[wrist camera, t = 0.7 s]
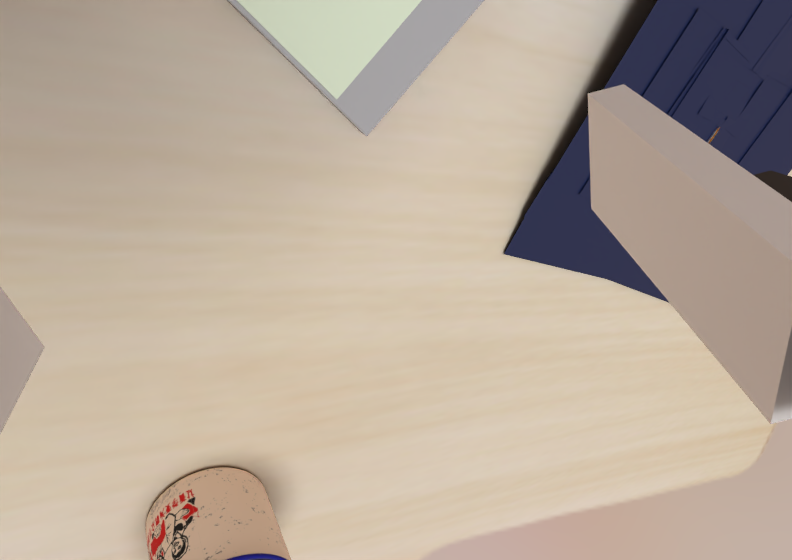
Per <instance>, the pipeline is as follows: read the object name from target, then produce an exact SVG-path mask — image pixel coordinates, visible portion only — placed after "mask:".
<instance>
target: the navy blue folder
mask: <svg viewBox="0 0 792 560" xmlns="http://www.w3.org/2000/svg"><path fill="white" fill-rule="evenodd" d="M623 84H624V85H626V86H627V87H629V88H630V89H631V90H633V91H634V92H636V93H637V94H639V95H640V96H641V97H643V98H644V99H646V100H647V101H649V102H650V103H651V104H653V105H654V106H656V107H657V108H659V109H660V110H661V111H663V112H664V113H666V114H667V115H668V116H670V117H671V118H673V119H674V120H676V121H677V122H678V123H680V124H681V125H683V126H684V127H686V128H687V129H688V130H690V131H691V132H693V133H694V134H696V135H697V136H698V137H700V138H701V139H703V140H704V141H705V142H707V143H708V144H710V145H711V146H713V147H714V148H715V149H717V150H718V151H720V152H721V153H723V154H724V155H725V156H727V157H728V158H730V159H731V160H732V161H734V162H735V163H737V164H738V165H740V166H741V167H742V168H744V169H745V170H747V171H748V172H750V173H751V174H752V175H755V174H759V173H762V172H766V171H770V170H771V171H775V172H778V173H781V174H784V175H788V173H789V172H790V171H791V169H792V0H658V1H657V2H656V4H655V6H654V7H653V9H652V10H651V12H650V14H649V15H648V17H647V19H646V20H645V22H644V24H643V25H642V27H641V29H640V30H639V32H638V33H637V35H636V37H635V38H634V40H633V42H632V43H631V45H630V47H629V48H628V50H627V51H626V53H625V55H624V56H623V58H622V60H621V61H620V63H619V65H618V66H617V68H616V69H615V71H614V73H613V74H612V76H611V78H610V79H609V81H608V83H607V84H606V86H605V87H604V89H607V88H611V87H615V86H619V85H623ZM524 217H525V218H524V219H523V221H522V223H521V225H520V227H519V228H518V230H517V232H516V234H515V235H514V237H513V239H512V241H511V242H510V244H509V246H508V248H507V249H506V251H505V253H504V254H506V255H510V256H514V257H518V258H522V259H526V260H531V261H535V262H539V263H543V264H547V265H551V266H555V267H559V268H564V269H568V270H572V271H576V272H580V273H584V274H588V275H593V276H597V277H601V278H605V279H608V280H611V281H614V282H616V283H619V284H622V285H624V286H627V287H629V288H632V289H635V290H637V291H640V292H643V293H645V294H648V295H651V296H653V297H656V298H659V299H661V300H664V301H667V302H669V301H668V300H667V299H666V298H665V296H664V295H663V294H662V293H661V292H660V290H659V289H658V288H657V287H656V286H655V284H654V283H653V282H652V281H651V280H650V278H649V277H648V276H647V275H646V274H645V272H644V271H643V270H642V269H641V268H640V266H639V265H638V264H637V263H636V262H635V260H634V259H633V258H632V257H631V256H630V254H629V253H628V252H627V251H626V250H625V248H624V247H623V246H622V245H621V244H620V242H619V241H618V240H617V239H616V238H615V236H614V235H613V234H612V233H611V232H610V230H609V229H608V228H607V227H606V226H605V224H604V223H603V222H602V221H601V220H600V218H599V217H598V216H597V215H596V214H595V212H594V211H593V210H592V209H591V186H590V153H589V119H588V115H587V117H586V119H585V120H584V122H583V123H582V125H581V127H580V128H579V130H578V132H577V133H576V135H575V137H574V138H573V140H572V141H571V143H570V145H569V146H568V148H567V150H566V151H565V153H564V155H563V156H562V158H561V160H560V161H559V163H558V164H557V166H556V168H555V169H554V171H553V172H551V174H550V176H549V177H548V179H547V180H546V182H545V184H544V185H543V187H542V188H541V190H540V192H539V193H538V195H537V196H536V198H535V200H534V201H533V203H532V204H531V206H530V208H529V209H528V211H527V213H526V214H525V216H524ZM669 303H670V302H669Z"/></svg>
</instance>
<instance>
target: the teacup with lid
mask: <svg viewBox="0 0 792 560" xmlns="http://www.w3.org/2000/svg"><path fill="white" fill-rule="evenodd" d="M146 539H147V546H148V553H149V560H291V558H290V555H289V553H288V550H287V547H286V545H285V542H284V539H283V536H282V534H281V531H280V528H279V526H278V523H277V520H276V518H275V515H274V512H273V509H272V507H271V504H270V501H269V499H268V496H267V493H266V491H265V488H264V486H263V485H262V483H261V482H260V481H259V480H258V479H257V478H256V477H255V476H253V475H252V474H250V473H248V472H246V471H244V470H240V469H236V468H227V467H221V468H212V469H207V470H203V471H199V472H196V473H194V474H191V475H189V476H187V477H185V478H183V479H181V480H179V481H178V482H176V483H175V484H173V485H172V486H170V487H169V488H168V489H167V490H166V491H165V492H164V493H163V494H162V495H161V496H160V497H159V498H158V499H157V500H156V502H155V503H154V504H153V506H152V508H151V510H150V512H149V514H148V517H147V520H146Z"/></svg>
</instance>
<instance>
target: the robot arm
mask: <svg viewBox="0 0 792 560" xmlns="http://www.w3.org/2000/svg"><path fill="white" fill-rule="evenodd" d="M588 119H589V153H590V186H591V209H592V210H593V211H594V212H595V214H596V215H597V216H598V217H599V218H600V220H601V221H602V222H603V223H604V224H605V226H606V227H607V228H608V229H609V230H610V232H611V233H612V234H613V235H614V236H615V238H616V239H617V240H618V241H619V242H620V244H621V245H622V246H623V247H624V248H625V250H626V251H627V252H628V253H629V254H630V256H631V257H632V258H633V259H634V260H635V262H636V263H637V264H638V265H639V266H640V268H641V269H642V270H643V271H644V272H645V274H646V275H647V276H648V277H649V278H650V280H651V281H652V282H653V283H654V284H655V286H656V287H657V288H658V289H659V290H660V292H661V293H662V294H663V295H664V296H665V298H666V299H667V300H668V301H669V302H670V304H671V305H672V306H673V307H674V308H675V310H676V311H677V312H678V313H679V314H680V316H681V317H682V318H683V319H684V320H685V322H686V323H687V324H688V325H689V327H690V328H691V329H692V330H693V331H694V333H695V334H696V335H697V336H698V337H699V339H700V340H701V341H702V342H703V343H704V345H705V346H706V347H707V348H708V349H709V351H710V352H711V353H712V354H713V355H714V357H715V358H716V359H717V360H718V361H719V363H720V364H721V365H722V366H723V367H724V369H725V370H726V371H727V372H728V373H729V375H730V376H731V377H732V378H733V379H734V381H735V382H736V383H737V384H738V385H739V387H740V388H741V389H742V390H743V391H744V393H745V394H746V395H747V396H748V397H749V399H750V400H751V401H752V402H753V403H754V405H755V406H756V407H757V408H758V409H759V411H760V412H761V413H762V414H763V415H764V417H765V418H766V419H767V420H768V421H769V423H770V424H773V423H777V422H781V421H785V420H789V419H792V177H791V176H787V175H784V174H781V173H778V172H775V171H771V170H770V171H766V172H762V173H759V174H755V175H752V174H751V173H750V172H748V171H747V170H745V169H744V168H742V167H741V166H740V165H738V164H737V163H735V162H734V161H732V160H731V159H730V158H728V157H727V156H725V155H724V154H723V153H721V152H720V151H718V150H717V149H715V148H714V147H713V146H711V145H710V144H708V143H707V142H705V141H704V140H703V139H701V138H700V137H698V136H697V135H696V134H694V133H693V132H691V131H690V130H688V129H687V128H686V127H684V126H683V125H681V124H680V123H678V122H677V121H676V120H674V119H673V118H671V117H670V116H668V115H667V114H666V113H664V112H663V111H661V110H660V109H659V108H657V107H656V106H654V105H653V104H651V103H650V102H649V101H647V100H646V99H644V98H643V97H641V96H640V95H639V94H637V93H636V92H634V91H633V90H631V89H630V88H629V87H627V86H626V85H624V84H623V85H619V86H615V87H611V88H607V89H603V90H599V91H596V92H592V93H588ZM43 349H44V345H43V344H42V343H41V341H40V340H39V339H38V337H37V336H36V334H35V333H34V332H33V330H32V329H31V328H30V326H29V325H28V324H27V322H26V321H25V319H24V318H23V317H22V315H21V314H20V313H19V311H18V310H17V309H16V307H15V306H14V304H13V303H12V302H11V300H10V299H9V298H8V296H7V295H6V294H5V292H4V291H3V289H2V288H1V287H0V434H1V432H2V430H3V428H4V426H5V424H6V422H7V420H8V418H9V416H10V414H11V412H12V410H13V408H14V406H15V404H16V402H17V400H18V398H19V397H20V395H21V393H22V391H23V389H24V387H25V385H26V383H27V381H28V379H29V377H30V375H31V373H32V371H33V369H34V367H35V365H36V363H37V361H38V359H39V357H40V355H41V353H42V351H43Z"/></svg>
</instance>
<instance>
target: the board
mask: <svg viewBox="0 0 792 560" xmlns="http://www.w3.org/2000/svg"><path fill="white" fill-rule="evenodd" d="M227 1H228V2H229V3H230V4H231V5H232V6H233V7H234V8H236V9H237V10H238V11H239V12H240V13H241V14H242V15H243V16H244V17H245V18H246V19H247V20H248V21H249V22H250V23H251V24H252V25H253V26H254V27H255V28H256V29H257V30H258V31H259V32H260V33H261V34H262V35H263V36H264V37H265V38H266V39H267V40H268V41H269V42H270V43H271V44H272V45H273V46H274V47H275V48H276V49H277V50H278V51H279V52H280V53H281V54H282V55H283V56H284V57H285V58H286V59H287V60H288V61H289V62H290V63H291V64H292V65H293V66H294V67H295V68H296V69H298V70H299V71H300V72H301V73H302V74H303V75H304V76H305V77H306V78H307V79H308V80H309V81H310V82H311V83H312V84H313V85H314V86H315V87H316V88H317V89H318V90H319V91H320V92H321V93H322V94H323V95H324V96H325V97H326V98H327V99H328V100H329V101H330V102H331V103H332V104H333V105H334V106H335V107H336V108H337V109H338V110H339V111H340V112H341V113H342V114H343V115H344V116H345V117H346V118H347V119H348V120H349V121H350V122H351V123H352V124H353V125H354V126H355V127H356V128H357V129H358V130H359V131H361V132H362V133H363V134H364V135H366V136H368V134H369V133H370V132H371V131H372V130H373V129H374V127H375V126H376V125H377V124H378V123H379V122H380V121H381V119H382V118H383V117H384V116H385V115H386V114H387V112H388V111H389V110H390V109H391V108H392V107H393V105H394V104H395V103H396V102H397V101H398V100H399V98H400V97H401V96H402V95H403V94H404V93H405V92H406V90H407V89H408V88H409V87H410V86H411V85H412V83H413V82H414V81H415V80H416V79H417V78H418V76H419V75H420V74H421V73H422V72H423V71H424V70H425V68H426V67H427V66H428V65H429V64H430V63H431V61H432V60H433V59H434V58H435V57H436V56H437V54H438V53H439V52H440V51H441V50H442V49H443V47H444V46H445V45H446V44H447V43H448V42H449V41H450V39H451V38H452V37H453V36H454V35H455V34H456V32H457V31H458V30H459V29H460V28H461V27H462V25H463V24H464V23H465V22H466V21H467V20H468V18H469V17H470V16H471V15H472V14H473V13H474V12H475V10H476V9H477V8H478V7H479V6H480V5H481V3H482V2H483V1H484V0H227Z"/></svg>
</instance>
